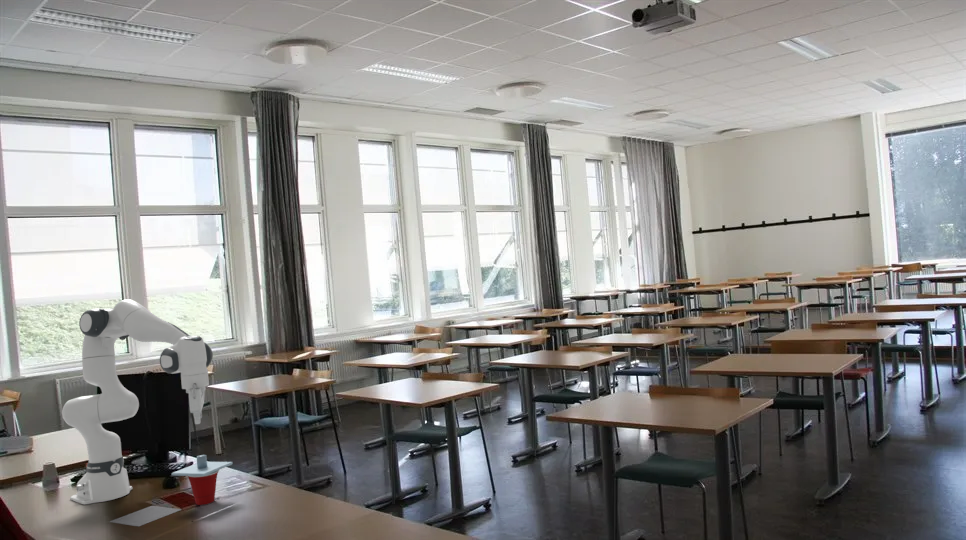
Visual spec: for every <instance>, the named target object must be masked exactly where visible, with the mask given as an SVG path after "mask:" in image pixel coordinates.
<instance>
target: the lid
mask: <svg viewBox="0 0 966 540" xmlns="http://www.w3.org/2000/svg"><path fill="white" fill-rule="evenodd" d="M207 459H208V458H207V454H201V455H197V456H196V463H193V464H192V465H189V466H186V467H184V468H181V469H178V470H177V471H173V472H171V476H173V477H175V476H179V477H181V476H182V477H183V476H184V477H188V476H205V475H208V474H210V473H213V472H215V471H217V470H219V471H220V470H222V469H225V468H226V467H229V466H232V465H233V461H208V460H207Z"/></svg>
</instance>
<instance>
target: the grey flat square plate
mask: <svg viewBox="0 0 966 540" xmlns="http://www.w3.org/2000/svg"><path fill="white" fill-rule="evenodd" d="M179 511H182V509H181V508H174V507H165V506H157V505H151V506H147V507H145V508H141V509H139V510H136V511H134V512H132V513H128V514H126V515H123V516H121V517H117V518H115V519H112V520H110V521H108V523H114V524H119V525H127V526H132V527H137V528H138V527H141V526H144V525H146V524H149V523H152V522H155V521H156V520H159V519H161V518H164V517H167V516H170V515H172V514H175V513H176V512H179Z"/></svg>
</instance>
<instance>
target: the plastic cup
mask: <svg viewBox="0 0 966 540" xmlns="http://www.w3.org/2000/svg"><path fill="white" fill-rule="evenodd" d="M219 471H220V470H217V471H215V472H213V473H210V474H208V475H205V476H187V477H188V480H189V483H190V487H191V492H192V494H193V498H194V501H195V504H196V505H197V506H203V505H204V506H206V505H209V504H211V503H214V502H215V499H216V489H217V488H216V487H217V478H218V473H219Z"/></svg>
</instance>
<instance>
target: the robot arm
mask: <svg viewBox="0 0 966 540" xmlns="http://www.w3.org/2000/svg"><path fill="white" fill-rule="evenodd" d="M78 325H79V329H80V331H81V333H82V334H83V335H84V336H83V341H82V349H81V354H82V355H81V362H82V363H81V364H82V378H83V380H84V381H85V382H86V383H87V384H89V385H92V386H95V387H97V388H98V387H99V388H100V391H101V393H100V394H99V393H98V394H91V395H83V396H82V395H81V396H78V397H74V398H72V399H69V400H67V401H66V402H65V403H64V405H63V407H62V410H61V415H62V419H63V421H64V422H65V424H67V425H68V426H69V427H71V428H74V429H75V430H76V431H77V432H79V434H80V435H81V436H82V437H83V439H84V442H85V445H86V450H87V458H88V462H87V463H85V467H86V473H84V474H83V476H82V477H81V478H80V479H79V480H78V481H77V483H76V487H75V488H76V489H75V490H76V494H73V495H71V496H70V501H73V502H76V503H78V504H82V505H90V504H95V503H101V502H103V503H104V502H107V501H108V502H109V501H112V500H115V499H118V498H122V497H124V496H126V495H129V494H130V492H131V491H132V490H133V486H132V485H130V481H129V476H128V471H127V470H128V469H126V468H125V467H124V466H125V464H124V463H125V460H124V456H123V455H122V442H121V437H120V436H119V435H118V434H117V433H115V432H113V431H109V430H107V429H105V428H104V427H103V424H105V423H106V424H107V423H113V422H120V421H123V420H127V419H130V418H133V417H134V416H136V414H137V412H138V410H139V407H140V402H139V398H138V397H137V395H136V394H135V393H134V392H132V391H130V390H128V389H127V388H126V387H124V385H123V384H122V382H121V381H120V379H119V377H118V373H117V367H116V353H115V352H116V351H115V343H116V341H117V340H118V339H119V340H120V341H124V340H125V339H127V338H129V337H130V338H131V339H133V340H136V341H137V342H142V343H144V342H145V343H156V342H157V343H165V344H166V343H167V344H171V346H169V347H166V348H164V349H163V350H162V351H161V353H160V356H159V365H160V367H161V369H162V370H163V372H165V373H167V374H172V375H173V374H180V380H181V382H180V383H181V389H182V390H185V393H186V394H188V405H189V412H190V414H192V415H193V418H194V425H200V424H201V420H202V418H203V407H204V404H205V394H206V391H207V389H206V387H208V386H210V380H209V371H208V367H209V366H210V364H211V363H212V361H213V356H214V354H213V351H212V349H211V346H209V344H207V343H206V342H205V341H204V338H203V337H201V336H199V335H189V334H188V333H187V332H186V331H184V330H183V329H181V328H179V326H177V325H175V324H173V323H171V322H169V321H166V320H164V319H162V318H160V317H159V316H157V315H155V314H154V313H152V312H151V311H150V310H149V309H148V308H147V307H145V306H144V305H143V304H141V303H139V302H137V301H136V300H134V299H130V298H128V299H123V300H120V301H118V302H117V303H116V304H115V306H114V307H112V308H111V307H110V308H92V309H88V310H85V311H84V312H83V313H82V314H81V316H80V318H79V323H78Z"/></svg>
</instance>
